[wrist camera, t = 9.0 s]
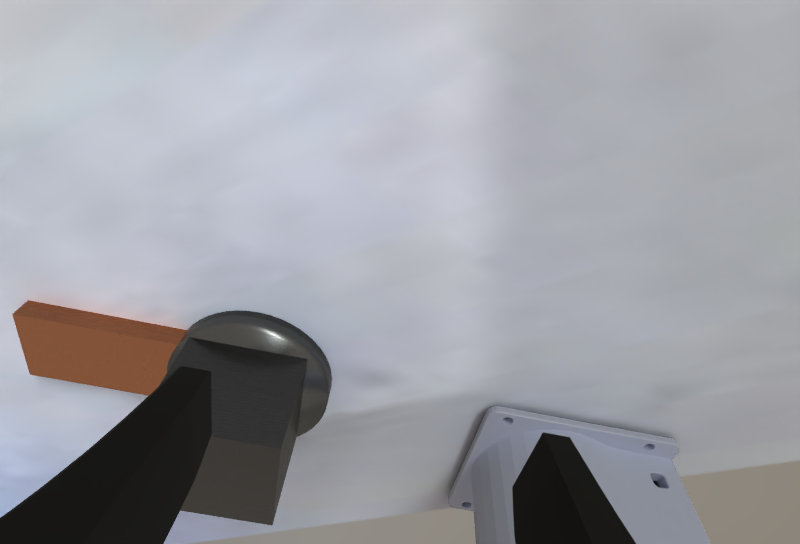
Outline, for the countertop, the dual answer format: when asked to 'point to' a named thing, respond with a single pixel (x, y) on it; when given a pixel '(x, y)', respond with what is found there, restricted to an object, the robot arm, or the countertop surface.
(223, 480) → the dark grey cube
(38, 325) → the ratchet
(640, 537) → the robot arm
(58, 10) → the countertop surface
